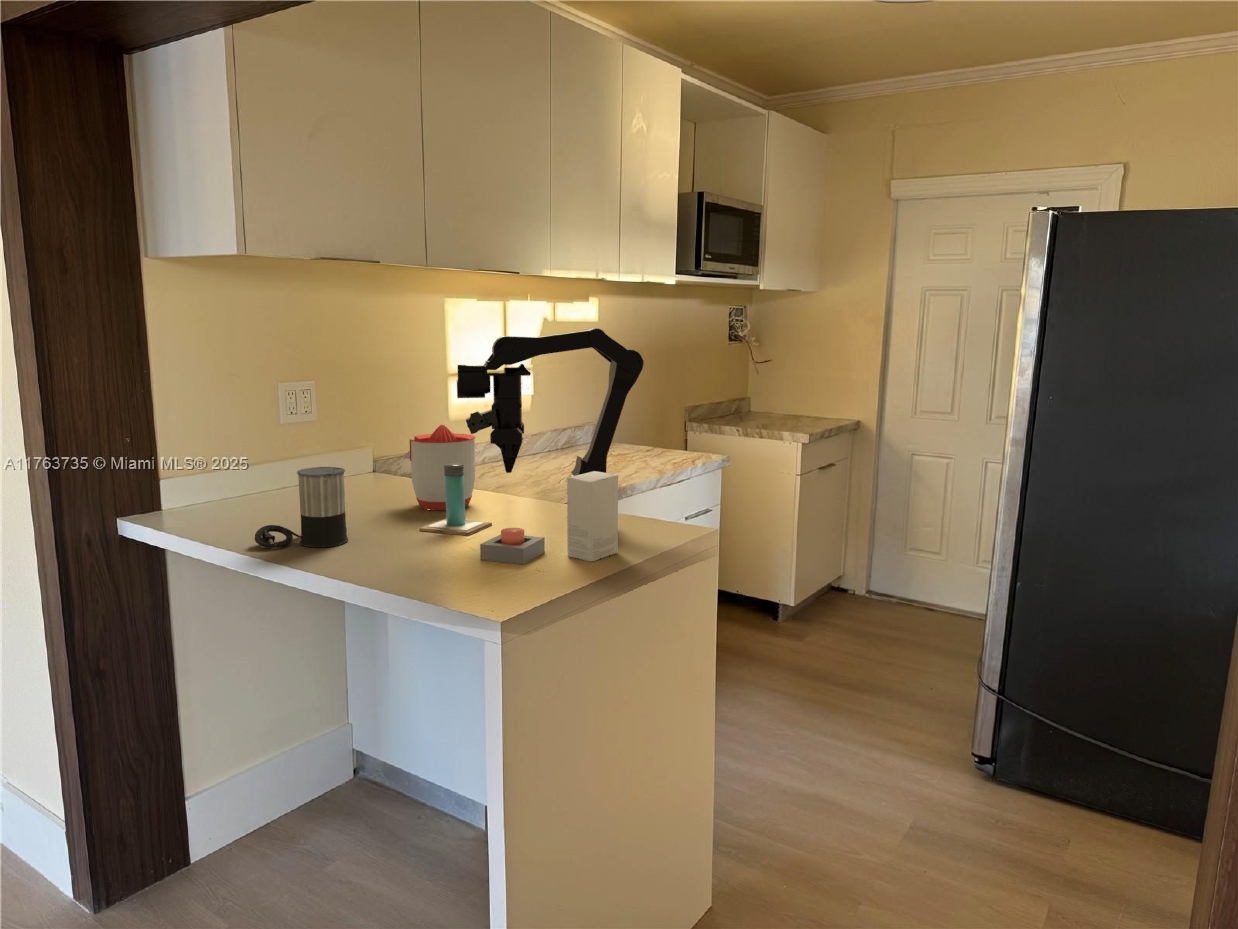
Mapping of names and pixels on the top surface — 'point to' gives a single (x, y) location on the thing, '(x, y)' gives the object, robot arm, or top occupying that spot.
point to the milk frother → (315, 511)
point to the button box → (512, 550)
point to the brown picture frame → (455, 527)
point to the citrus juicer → (440, 465)
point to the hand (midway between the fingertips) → (508, 472)
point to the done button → (512, 536)
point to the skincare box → (592, 515)
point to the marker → (454, 494)
